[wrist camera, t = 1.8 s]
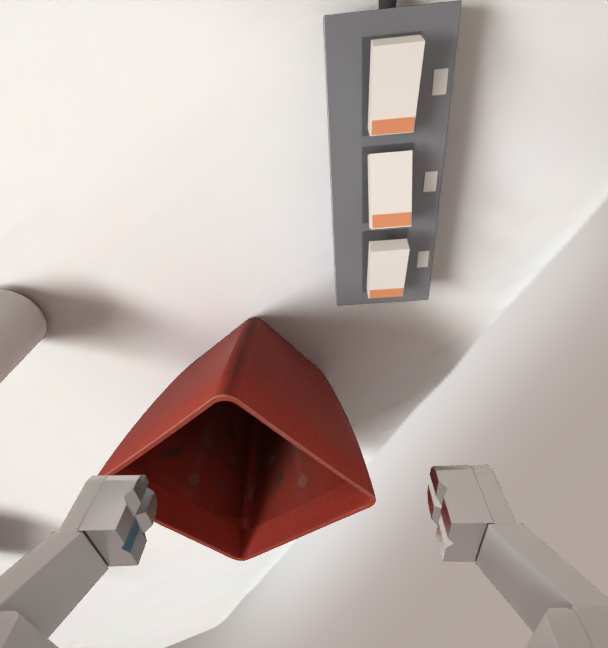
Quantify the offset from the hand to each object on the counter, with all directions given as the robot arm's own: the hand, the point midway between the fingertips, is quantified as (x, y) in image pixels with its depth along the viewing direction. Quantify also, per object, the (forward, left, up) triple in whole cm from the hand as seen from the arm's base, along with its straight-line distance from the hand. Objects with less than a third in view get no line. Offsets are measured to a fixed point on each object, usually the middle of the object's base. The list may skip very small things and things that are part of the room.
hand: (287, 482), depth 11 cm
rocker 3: (+6, +7, -25) cm, 27 cm away
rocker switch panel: (-4, +7, -30) cm, 31 cm away
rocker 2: (-1, +7, -25) cm, 26 cm away
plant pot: (+22, -8, -30) cm, 39 cm away
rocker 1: (-8, +7, -25) cm, 27 cm away
